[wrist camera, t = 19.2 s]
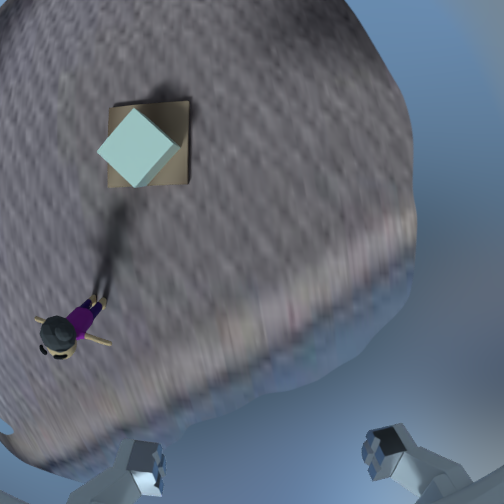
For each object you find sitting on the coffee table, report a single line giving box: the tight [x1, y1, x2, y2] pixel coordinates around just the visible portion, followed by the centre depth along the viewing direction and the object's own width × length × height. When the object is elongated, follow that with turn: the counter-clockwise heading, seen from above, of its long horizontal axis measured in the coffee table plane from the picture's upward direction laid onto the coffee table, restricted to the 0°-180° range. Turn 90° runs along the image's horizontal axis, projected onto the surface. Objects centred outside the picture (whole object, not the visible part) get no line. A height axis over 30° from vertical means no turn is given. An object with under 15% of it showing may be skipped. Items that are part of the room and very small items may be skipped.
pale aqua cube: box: [97, 108, 181, 188], centre depth 31 cm, size 6×6×5 cm
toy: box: [35, 295, 112, 360], centre depth 31 cm, size 10×6×15 cm, turn 76°
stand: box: [108, 101, 190, 188], centre depth 32 cm, size 10×10×5 cm
